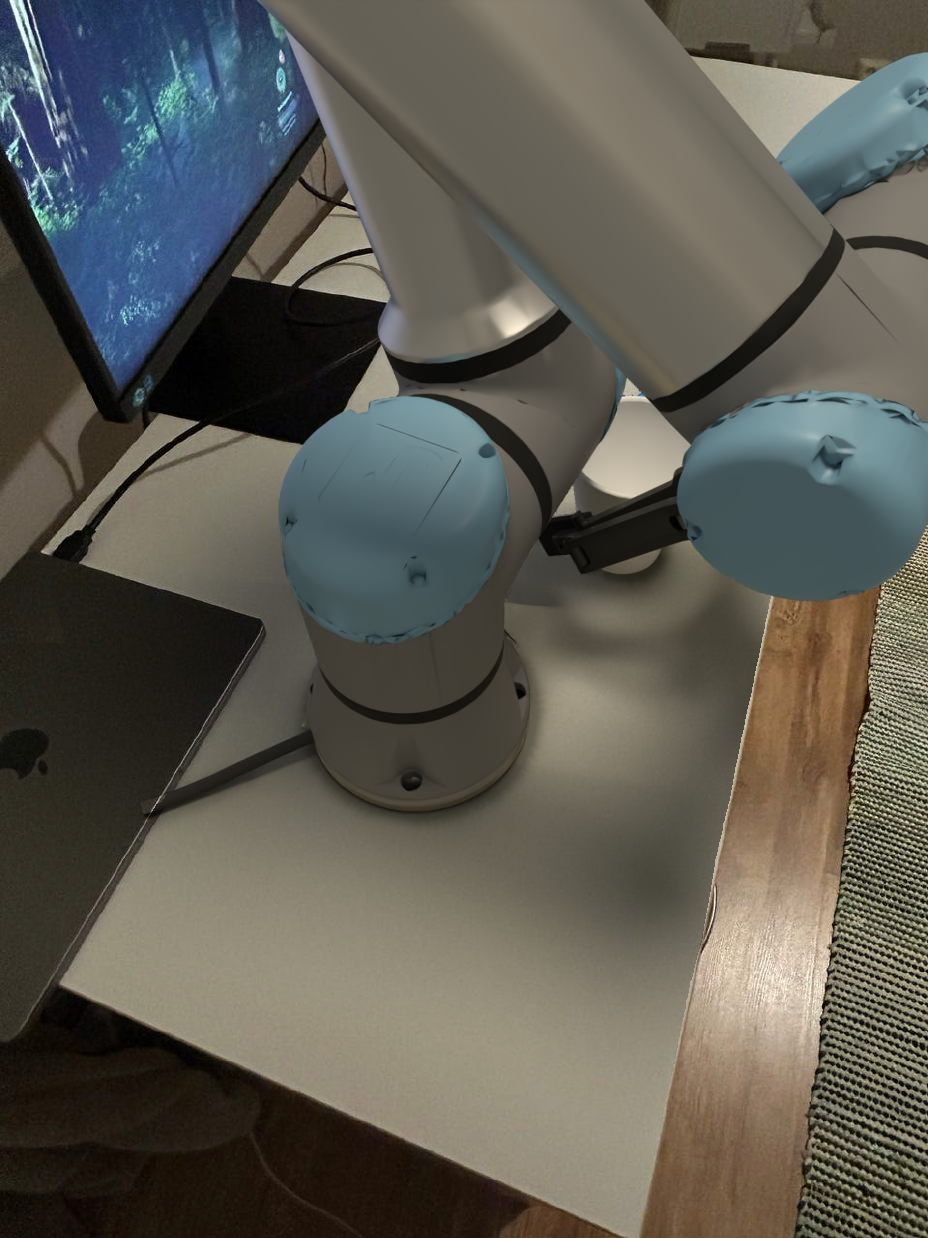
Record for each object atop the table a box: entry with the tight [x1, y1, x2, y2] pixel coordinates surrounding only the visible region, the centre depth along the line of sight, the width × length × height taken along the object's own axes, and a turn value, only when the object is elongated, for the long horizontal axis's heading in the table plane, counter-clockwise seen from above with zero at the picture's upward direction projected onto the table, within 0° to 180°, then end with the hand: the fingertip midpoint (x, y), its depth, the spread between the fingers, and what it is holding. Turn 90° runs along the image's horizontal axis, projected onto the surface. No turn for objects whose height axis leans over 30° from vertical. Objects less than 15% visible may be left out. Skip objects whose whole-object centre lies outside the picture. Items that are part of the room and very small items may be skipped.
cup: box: [572, 395, 691, 575], centre depth 66 cm, size 10×10×11 cm
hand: (605, 489), depth 68 cm, fingers open, 13 cm apart
